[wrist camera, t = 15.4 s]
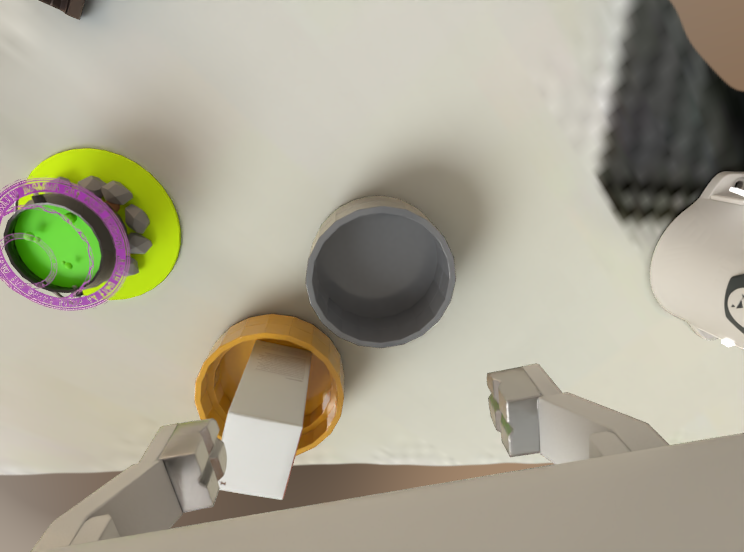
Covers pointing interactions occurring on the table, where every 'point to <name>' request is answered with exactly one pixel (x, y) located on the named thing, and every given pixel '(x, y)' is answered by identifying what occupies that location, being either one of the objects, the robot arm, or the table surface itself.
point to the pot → (379, 272)
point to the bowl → (232, 357)
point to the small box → (266, 421)
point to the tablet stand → (68, 6)
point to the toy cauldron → (89, 229)
